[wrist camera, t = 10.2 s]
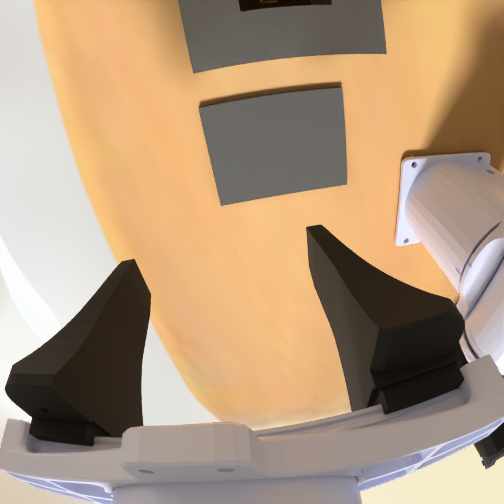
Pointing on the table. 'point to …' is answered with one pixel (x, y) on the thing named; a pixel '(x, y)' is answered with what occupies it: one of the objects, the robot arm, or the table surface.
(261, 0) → the steel pin
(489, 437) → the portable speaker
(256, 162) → the rubber mat
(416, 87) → the table surface
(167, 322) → the table surface
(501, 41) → the table surface
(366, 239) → the table surface
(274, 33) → the hole block
